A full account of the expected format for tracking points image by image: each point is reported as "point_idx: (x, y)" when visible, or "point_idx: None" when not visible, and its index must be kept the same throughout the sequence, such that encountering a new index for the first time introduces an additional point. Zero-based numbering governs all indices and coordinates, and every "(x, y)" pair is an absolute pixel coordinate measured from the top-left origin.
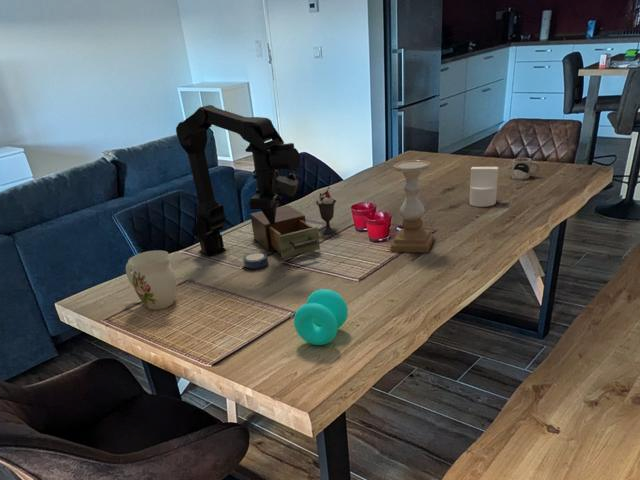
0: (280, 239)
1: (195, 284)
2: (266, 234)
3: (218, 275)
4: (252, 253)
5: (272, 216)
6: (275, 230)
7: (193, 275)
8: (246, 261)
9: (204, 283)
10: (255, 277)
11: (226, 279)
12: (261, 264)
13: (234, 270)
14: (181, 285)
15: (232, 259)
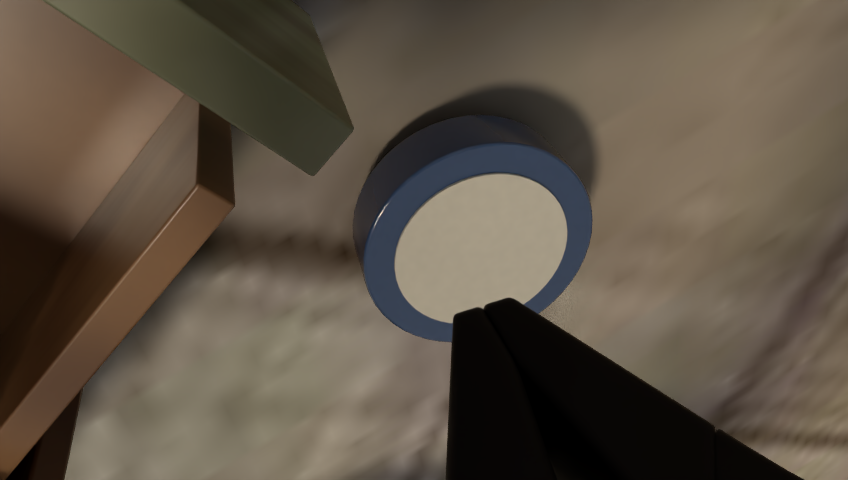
0: (341, 107)
1: (764, 373)
2: (70, 429)
3: (645, 343)
4: (401, 321)
5: (658, 413)
6: (83, 348)
7: None
8: (580, 264)
9: (758, 340)
10: (695, 74)
11: (712, 260)
12: (539, 136)
13: (562, 303)
14: (767, 422)
15: (370, 429)
